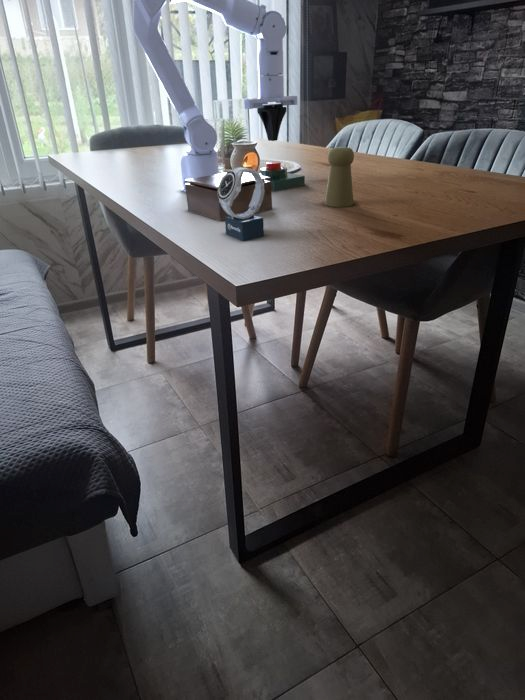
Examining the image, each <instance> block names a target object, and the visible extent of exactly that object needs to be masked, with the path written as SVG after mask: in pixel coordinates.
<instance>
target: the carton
mask: <svg viewBox="0 0 525 700" xmlns="http://www.w3.org/2000/svg"><path fill="white" fill-rule="evenodd" d="M221 179H222V177H217V176H212V175H210V176H204V177H198V178H192V179H186V180H185V182H188V183H187V184H185V189H186V192H185V197H186V205H187V212H190V213H192V214H196V215H199V216H201V217H205V218H210V219H212V220H215V221H218V222H223V221H225V216H229V214H227V213H226V212H225V211H224V210H223V208H222V206H221V203H220V201H219V198H218V194H217V191H218V185H219V183H220V180H221ZM263 182H264V190H265V192H264V197H263V201H262V203H261V206H260V208H259V210H258V212H256V213H255V214H257V213H259V212H260V213H261V212H264V211H268V210H272V209H273V195H272V193H273V191H272V190H271V181H266V180H264V181H263ZM255 185H256V182H253V183H247V184H245V182H242V181H241V191H240V192H239V194H238V195H237V196H236V198H235V199H234V200H233V203H232V206H231V207H230V208H231V210H232V212H233V213H234V214H238V213H243V212H246V211H248V209H249V204H250V202H251V200H252V197H253V193H254V189H255Z"/></svg>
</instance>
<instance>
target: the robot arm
mask: <svg viewBox="0 0 525 700" xmlns="http://www.w3.org/2000/svg"><path fill="white" fill-rule="evenodd" d="M167 1H168V0H132V31H133V34H134V35H135V38H136V39H137V41H138V43H139V45H140V47H141V48H142V51H143V53H144V54H145V56H146V58H147V60H148V63H149V64H150V66H151V67H152V69H153V71H154V74H155V75H156V77H157V79H158V81H159V83H160V84H161V86H162V88H163V90H164V92H165V94H166V95H167V98H168V99H169V102H170V103H171V105H172V107H173V109H174V110H175V113H176V114H177V117H178V119H179V122H180V124H181V126H182V128H183V134H184V135H183V136H184V139H185V142H186V143H187V145H188V147H187V149H186V150H185V152H186V153H184V154H183V155H182V157H181V159H180V172H181V179H182V188H180V189H179V191H180V192H185V193H186V189H185V184H187V183H188V182H185V180H186V179H192V178H198V177H204V176H210V175H214V174H220V171H219V157H218V149H217V148H215V147H216V146H217V142H218V135H217V131H216V129H215V128H214V126H213V125H211V124H210V123H209V122H208V121H207V120H206V119H205V117H204V115H203V113H202V112H201V110H200V109H199V106H197V103H196V102H195V99H194V98H193V96H192V93H190V90H189V88H188V86H187V85H186V82H185V80H184V78H183V77H182V74H181V72H180V71H179V68H178V67H177V65H176V63H175V61H174V59H173V57H172V55H171V53H170V51H169V49H168V46H167V45H166V42H165V41H164V40H163V37H162V35H161V33H160V31H159V23H160V20H161V17H162V10H163V9H164V6H165V5H166V4H167ZM181 2H187V3H190V4H192V5H195V6H197V7H199V8H201V9H205V10H207V11H210V12H211V13H215V14H217V15H219V16H221V18H222V21H223V23H224V24H225V26H227V27H230V28H231V29H234V30H236V31H239V32H241V33H243V34H245V35H247V36H250V37H254V38H255V40H256V41H257V71H258V74H257V76H258V97H254V98H244V100H243V101H244V102H243V104H244V109H245V110H253V109H257V111H256V113H257V114H258V116H259V118H260V120H261V122H262V124H263V126H264V130H265V133H266V138H267V141H268V142H269V141H271V142H277V141H278V139H279V135H280V129H281V126H282V123H283V122H282V121H283V120H284V118H285V116H286V113H287V111H288V110H287V106H297V105H298V95H285V87H284V86H285V85H284V83H285V82H284V79H285V78H284V76H285V75H284V40H283V39H284V38H285V36H286V35H287V30H288V26H287V24H286V21H285V18H284V17H283V15H282V14H281V13H280V12H278V11H276V10H268V11H267V6H266V5H265V4H261V5H258V4H256V3H254V2H252V1H250V0H169V4H170V5H172V4H176V3H181ZM269 103H270V104H269ZM271 103H272V104H271Z"/></svg>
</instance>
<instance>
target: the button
mask: <svg viewBox="0 0 525 700" xmlns="http://www.w3.org/2000/svg"><path fill="white" fill-rule="evenodd" d="M281 162H282V161H278V160H277V161H266V162H265V167H266V170H278V169H281V166H282V165H281Z"/></svg>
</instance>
